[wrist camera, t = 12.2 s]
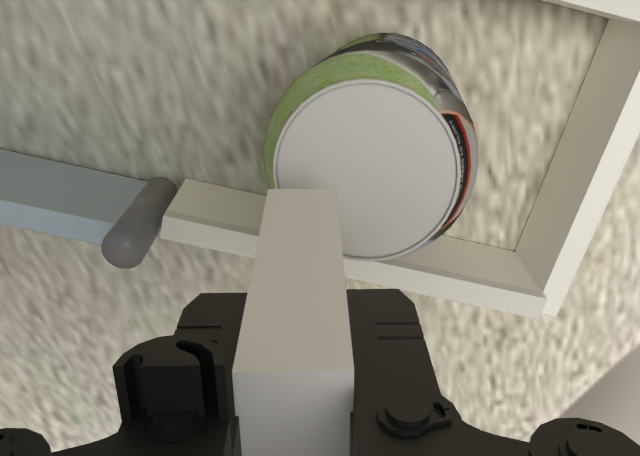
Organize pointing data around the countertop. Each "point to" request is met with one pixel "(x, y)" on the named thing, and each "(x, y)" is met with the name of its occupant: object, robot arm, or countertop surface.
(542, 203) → the grey low-walled frame
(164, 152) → the countertop surface
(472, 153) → the beverage can
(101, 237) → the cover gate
